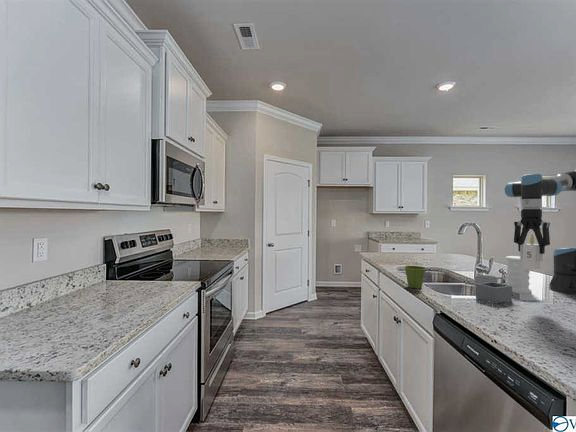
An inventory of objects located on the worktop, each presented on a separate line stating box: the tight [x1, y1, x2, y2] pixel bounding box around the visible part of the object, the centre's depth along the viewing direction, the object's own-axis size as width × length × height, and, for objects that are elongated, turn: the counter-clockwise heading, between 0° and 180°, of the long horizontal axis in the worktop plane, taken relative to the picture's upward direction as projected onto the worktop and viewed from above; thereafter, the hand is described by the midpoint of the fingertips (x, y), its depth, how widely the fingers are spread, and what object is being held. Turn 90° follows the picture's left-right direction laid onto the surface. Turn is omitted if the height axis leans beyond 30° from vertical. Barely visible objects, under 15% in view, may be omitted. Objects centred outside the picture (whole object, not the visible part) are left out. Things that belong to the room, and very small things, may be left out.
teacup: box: [473, 274, 505, 287], centre depth 172 cm, size 14×11×8 cm
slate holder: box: [475, 282, 513, 304], centre depth 154 cm, size 11×10×7 cm
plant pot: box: [403, 265, 427, 290], centre depth 181 cm, size 12×12×11 cm
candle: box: [522, 234, 541, 270], centre depth 144 cm, size 6×6×15 cm
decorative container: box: [505, 255, 532, 295], centre depth 171 cm, size 12×12×18 cm
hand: (531, 259), depth 144 cm, fingers closed on candle, 6 cm apart
